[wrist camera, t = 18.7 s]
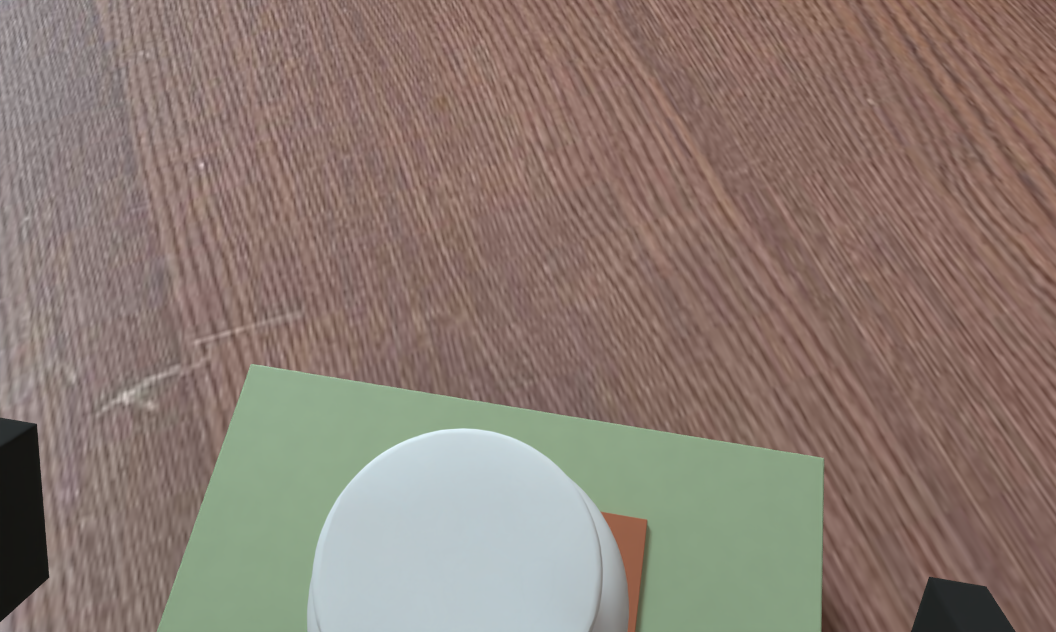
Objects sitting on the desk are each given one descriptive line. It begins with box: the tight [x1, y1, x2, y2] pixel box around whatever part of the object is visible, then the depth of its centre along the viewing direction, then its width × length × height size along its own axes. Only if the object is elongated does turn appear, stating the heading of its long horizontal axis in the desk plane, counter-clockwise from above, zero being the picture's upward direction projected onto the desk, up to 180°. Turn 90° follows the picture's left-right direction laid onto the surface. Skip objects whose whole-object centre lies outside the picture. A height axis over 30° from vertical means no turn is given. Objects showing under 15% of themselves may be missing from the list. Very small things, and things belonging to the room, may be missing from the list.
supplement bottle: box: [307, 428, 629, 632], centre depth 16 cm, size 5×5×10 cm
